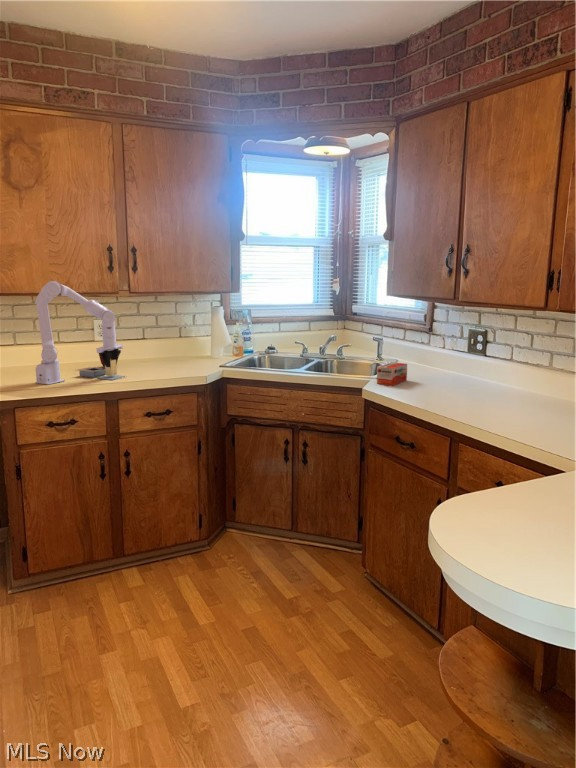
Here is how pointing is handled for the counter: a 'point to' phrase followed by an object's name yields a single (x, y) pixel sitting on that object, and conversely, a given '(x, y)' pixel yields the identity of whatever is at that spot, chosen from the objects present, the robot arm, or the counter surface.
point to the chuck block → (92, 372)
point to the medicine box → (391, 373)
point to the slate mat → (110, 377)
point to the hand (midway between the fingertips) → (111, 366)
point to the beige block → (111, 368)
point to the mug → (102, 360)
